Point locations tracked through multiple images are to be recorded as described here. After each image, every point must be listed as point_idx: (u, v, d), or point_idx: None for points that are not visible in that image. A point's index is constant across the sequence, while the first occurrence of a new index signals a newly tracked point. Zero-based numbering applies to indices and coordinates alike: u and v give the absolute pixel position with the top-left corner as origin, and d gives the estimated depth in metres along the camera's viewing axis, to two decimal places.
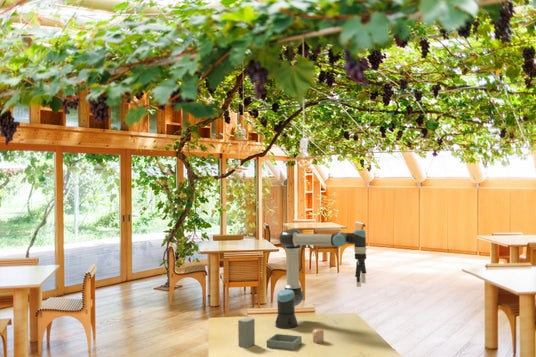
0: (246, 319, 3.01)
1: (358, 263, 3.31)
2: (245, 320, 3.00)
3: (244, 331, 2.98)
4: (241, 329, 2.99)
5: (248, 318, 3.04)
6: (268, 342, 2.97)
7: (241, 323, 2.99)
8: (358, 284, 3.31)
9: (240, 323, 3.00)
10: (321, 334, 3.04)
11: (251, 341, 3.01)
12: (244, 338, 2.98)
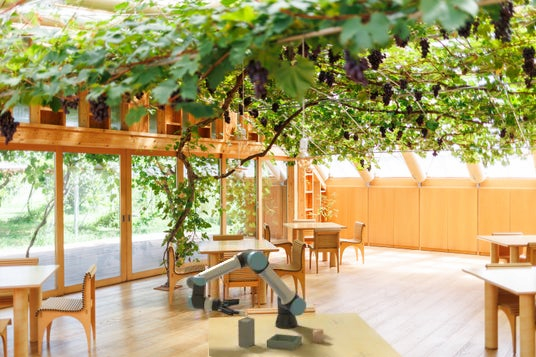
0: (246, 319, 3.01)
1: (219, 309, 2.97)
2: (245, 320, 3.00)
3: (244, 331, 2.98)
4: (241, 329, 2.99)
5: (248, 318, 3.04)
6: (268, 342, 2.97)
7: (241, 323, 2.99)
8: (242, 313, 2.95)
9: (240, 323, 3.00)
10: (321, 334, 3.04)
11: (251, 341, 3.01)
12: (244, 338, 2.98)
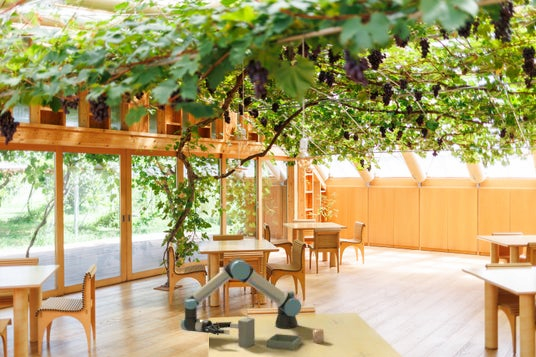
0: (246, 319, 3.01)
1: (206, 329, 3.06)
2: (245, 320, 3.00)
3: (244, 331, 2.98)
4: (241, 329, 2.99)
5: (248, 318, 3.04)
6: (268, 342, 2.97)
7: (241, 323, 2.99)
8: (226, 332, 3.00)
9: (240, 323, 3.00)
10: (321, 334, 3.04)
11: (251, 341, 3.01)
12: (244, 338, 2.98)
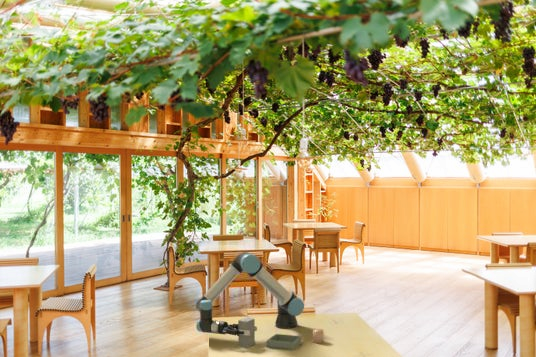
0: (246, 319, 3.01)
1: (224, 331, 3.01)
2: (245, 320, 3.00)
3: None
4: (241, 329, 2.99)
5: (248, 318, 3.04)
6: (268, 342, 2.97)
7: (241, 323, 2.99)
8: (246, 333, 2.96)
9: (240, 323, 3.00)
10: (321, 334, 3.04)
11: (251, 341, 3.01)
12: (244, 338, 2.98)
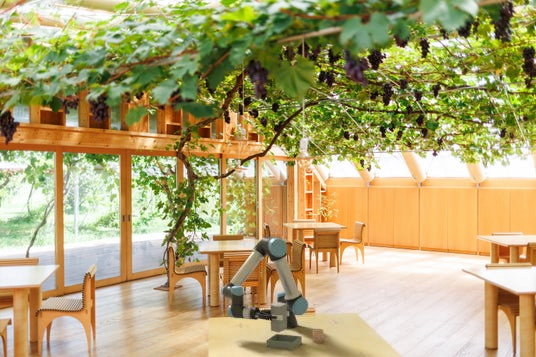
0: (279, 304, 3.01)
1: (257, 316, 3.00)
2: (277, 305, 2.99)
3: None
4: (274, 314, 2.98)
5: (280, 303, 3.03)
6: (268, 342, 2.97)
7: (274, 308, 2.99)
8: (279, 317, 2.95)
9: (272, 308, 2.99)
10: (321, 334, 3.04)
11: (283, 326, 3.00)
12: (277, 323, 2.97)
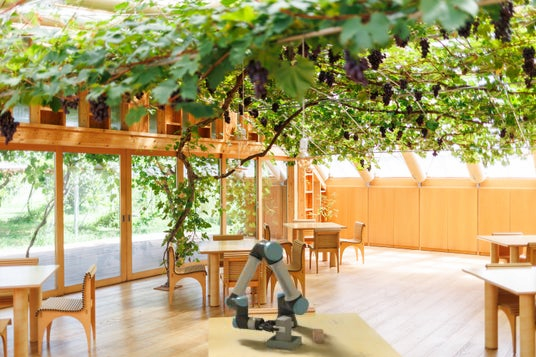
0: (283, 318, 3.00)
1: (260, 327, 3.00)
2: (282, 319, 2.98)
3: None
4: None
5: (285, 317, 3.02)
6: (268, 342, 2.97)
7: (278, 322, 2.98)
8: (282, 329, 2.94)
9: (277, 322, 2.98)
10: (321, 334, 3.04)
11: (288, 339, 3.00)
12: (282, 337, 2.97)
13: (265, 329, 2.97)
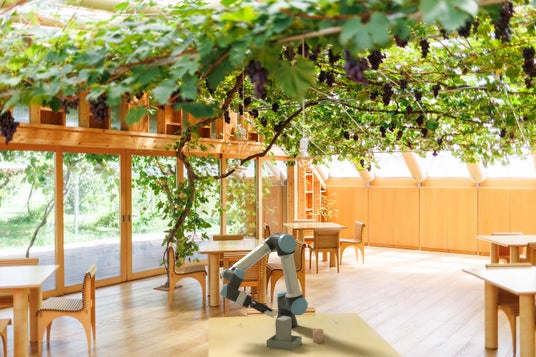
0: (283, 318, 3.00)
1: (254, 302, 3.05)
2: (282, 319, 2.98)
3: (282, 330, 2.96)
4: (279, 328, 2.98)
5: (285, 317, 3.02)
6: (268, 342, 2.97)
7: (279, 322, 2.98)
8: (274, 312, 3.04)
9: (277, 322, 2.98)
10: (321, 334, 3.04)
11: (288, 339, 3.00)
12: (282, 337, 2.97)
13: (259, 305, 3.04)
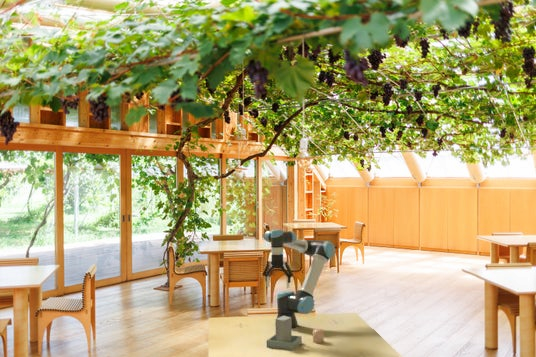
0: (283, 318, 3.00)
1: (287, 263, 3.18)
2: (282, 319, 2.98)
3: (282, 330, 2.96)
4: (279, 328, 2.98)
5: (285, 317, 3.02)
6: (268, 342, 2.97)
7: (279, 322, 2.98)
8: (288, 285, 3.18)
9: (277, 322, 2.98)
10: (321, 334, 3.04)
11: (288, 339, 3.00)
12: (282, 337, 2.97)
13: (289, 269, 3.17)
